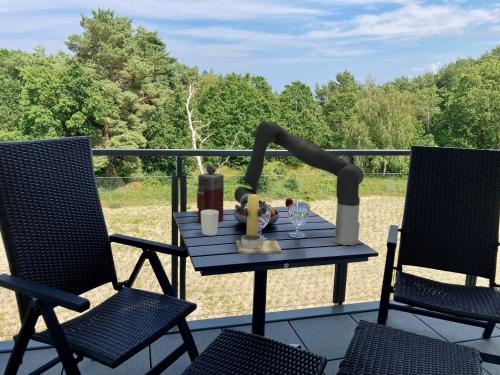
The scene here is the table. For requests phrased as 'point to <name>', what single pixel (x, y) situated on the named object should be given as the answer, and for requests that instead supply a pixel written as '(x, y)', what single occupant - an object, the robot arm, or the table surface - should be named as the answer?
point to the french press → (210, 192)
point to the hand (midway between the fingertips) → (253, 214)
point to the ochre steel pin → (252, 214)
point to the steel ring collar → (252, 241)
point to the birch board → (268, 247)
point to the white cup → (209, 222)
